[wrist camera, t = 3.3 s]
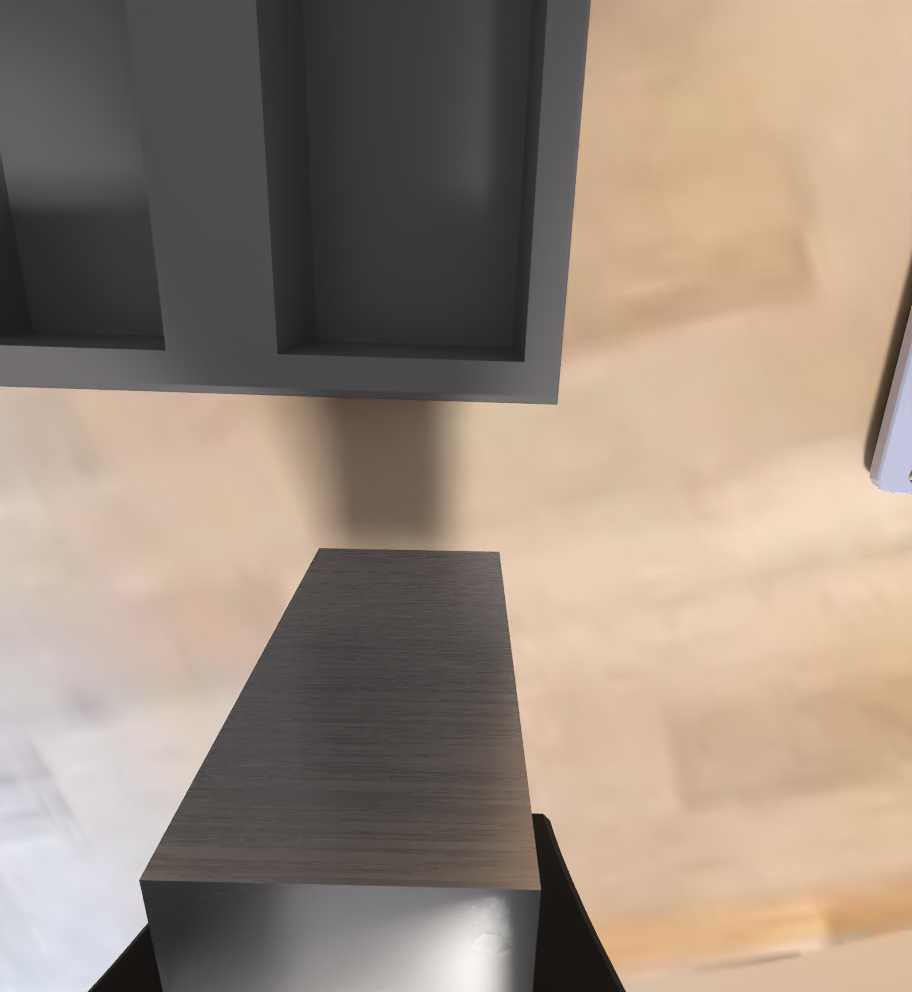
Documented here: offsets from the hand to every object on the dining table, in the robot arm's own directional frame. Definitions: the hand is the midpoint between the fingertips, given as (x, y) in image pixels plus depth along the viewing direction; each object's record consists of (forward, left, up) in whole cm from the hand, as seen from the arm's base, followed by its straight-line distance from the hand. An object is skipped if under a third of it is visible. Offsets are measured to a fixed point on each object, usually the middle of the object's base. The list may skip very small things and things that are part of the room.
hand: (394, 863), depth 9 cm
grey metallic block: (0, 0, -3) cm, 3 cm away
